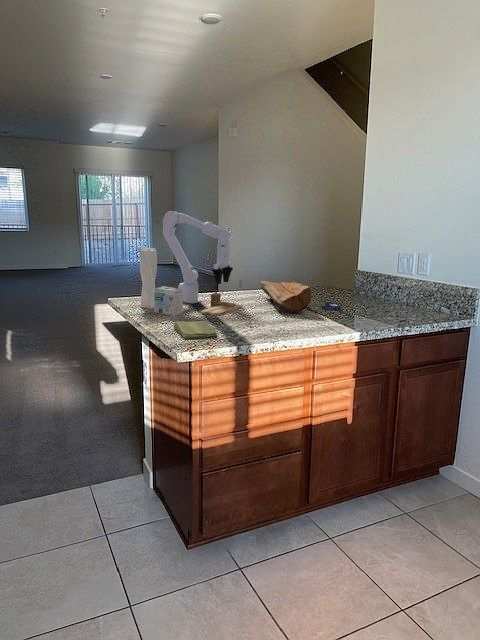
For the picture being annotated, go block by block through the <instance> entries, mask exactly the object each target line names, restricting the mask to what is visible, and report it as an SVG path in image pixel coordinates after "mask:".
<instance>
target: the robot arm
mask: <svg viewBox="0 0 480 640" xmlns="http://www.w3.org/2000/svg"><path fill="white" fill-rule="evenodd" d="M179 224H186V225H187V224H188V225H190V226H192V227H195V228H197V229H200V230H201V232H202V234H205V235H207V236H208V237H212V238H214V239H217V245H216V263H215V264H213V268H211V272H212V274H213V275H214V280H215V284H216V285H222V282H224V283H228V282H229V279H230V276H231V273H232V271H233V269H234V268H233V266H232V262H229V261H230V240H229V239H230V237H231V234H230V231H229V230H228V229H227V228H223V226H218V225H217V224H214V223H213V221H205V222H203V221H200V220H199V219H196V218H194V217H192V216H190V215H188V214H186V213H182V212H178V211H172V210H169V211H167V212H166V213H165V214H164V217H163V219H162V235H163V237H164V239H165V241H166V243H167V244H168V247H169V249H170V250H171V252H172V255H173V256H174V258H175V260H176V262H177V263H178V266H179V267H180V271H181V273H182V279H183V282H180V283H179V284H178V286H177V288H179V289H183V303H185V304H186V303H187V304H196V303H200V302H202V300H200V299H199V282H198V279H199V271H198V270H197V269H195V268H194V266H193V265H192V264H191V262H190V260H189V259H188V257H187V255H186V253H185V251H184V249H183V248H182V246H181V243H180V242H179V240H178V238H177V237H176V234H175V231H176V229H177V227H178V225H179ZM222 279H223V281H222Z"/></svg>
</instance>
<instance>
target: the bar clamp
mask: <svg viewBox="0 0 480 640" xmlns="http://www.w3.org/2000/svg"><path fill="white" fill-rule="evenodd" d="M339 307H340V304H339V302H330V301H326V302H325V304H324V305H321V309H322V310H324V311H329V310H330V311H331V310H334V311H336V310H337V311H338V312H340V313H342V314H344V315H346V316H348V317H351V318H353V319H356V317H354V316H353V315H350V314H348V313H347V312H345V311H342V310H341V309H339Z"/></svg>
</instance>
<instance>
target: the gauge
mask: <svg viewBox="0 0 480 640" xmlns="http://www.w3.org/2000/svg"><path fill="white" fill-rule="evenodd" d="M235 304H236V303H235V302H231V301H230V302H227V301H222V300H221V293H218V292H217V291H214V292H213V293H211V294H210V308H211V307H214V306H217V305H228V306H235Z"/></svg>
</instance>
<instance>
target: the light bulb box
mask: <svg viewBox="0 0 480 640" xmlns="http://www.w3.org/2000/svg"><path fill="white" fill-rule="evenodd" d="M183 307H184V302H183V289H179V288H178V287H171V286H159V287H155V295H154V307H153V309H154V311H153V312H154V313H155V314H160V315H161V314H162V315H167V316H173V317H175V316H178V315H182V314H183V311H184V308H183Z"/></svg>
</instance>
